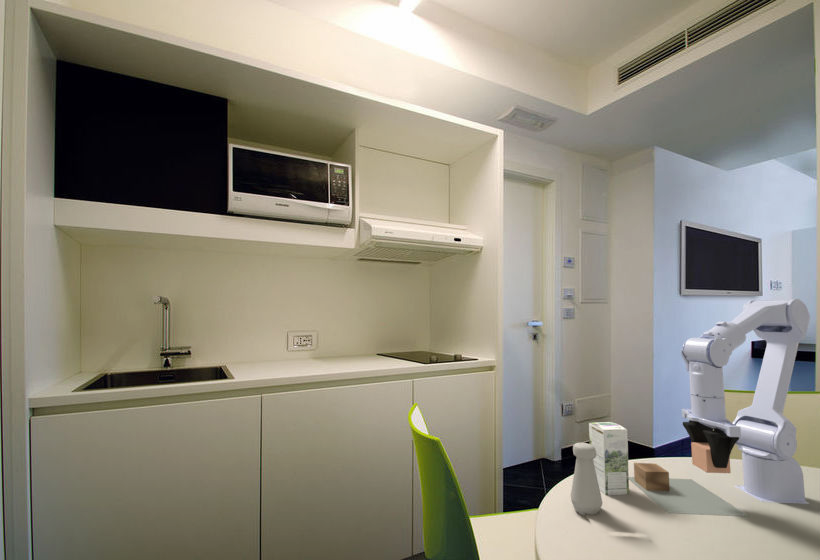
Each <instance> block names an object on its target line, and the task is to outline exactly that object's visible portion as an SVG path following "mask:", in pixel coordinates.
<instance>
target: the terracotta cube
mask: <svg viewBox="0 0 820 560" xmlns="http://www.w3.org/2000/svg"><path fill="white" fill-rule="evenodd" d="M690 442H691V443H690V446H691V463H692V465H693V466H695V467H697V468H698V469H699V470H700V469H701V470H702V471H703V472H705V473H711V474H731V458H730V457H729V460H728V464H727V468H716V467H714V465H713V462H712V457H711V451H710V447H709V443H698V442H692V441H690Z"/></svg>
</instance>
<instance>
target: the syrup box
mask: <svg viewBox="0 0 820 560" xmlns="http://www.w3.org/2000/svg"><path fill="white" fill-rule="evenodd" d="M588 437H589V438H588V439H589V441H588V442H589V443H588V444H591V445H593V446H594V447H595V449H596V458H594V459H593V461H594V466H595V470H596V475H597V480H598V484H599V489H600V493H602V494H603V495H604V496H615V495H629V494H630V485H629V481H630V480H629V477H630V476H629V443H628V439H629V438H628V429H627V428H626V427H624V426H622V425H620V424H618V423H615V422H612V421H606V422H605V421H604V422H603V421H602V422H589V423H588Z"/></svg>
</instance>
